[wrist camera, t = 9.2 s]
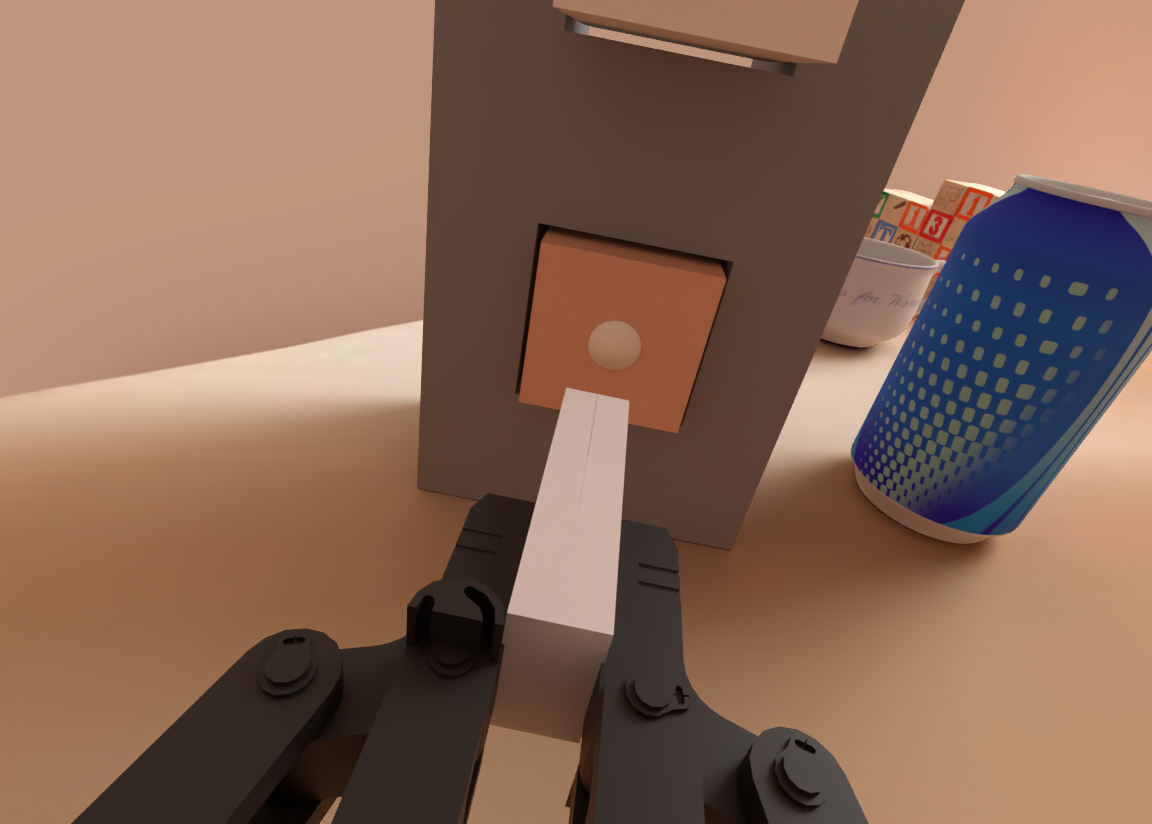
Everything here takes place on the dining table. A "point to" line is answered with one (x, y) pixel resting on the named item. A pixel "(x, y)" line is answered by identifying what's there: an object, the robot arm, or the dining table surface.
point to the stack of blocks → (929, 218)
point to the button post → (649, 229)
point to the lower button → (619, 324)
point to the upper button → (729, 25)
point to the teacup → (880, 294)
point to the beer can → (1010, 359)
